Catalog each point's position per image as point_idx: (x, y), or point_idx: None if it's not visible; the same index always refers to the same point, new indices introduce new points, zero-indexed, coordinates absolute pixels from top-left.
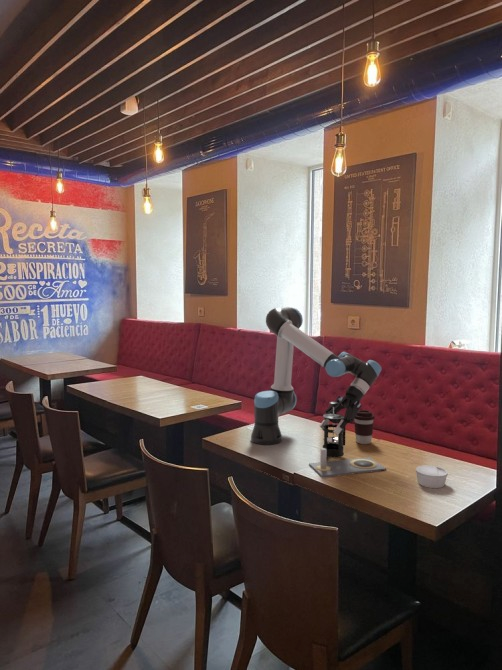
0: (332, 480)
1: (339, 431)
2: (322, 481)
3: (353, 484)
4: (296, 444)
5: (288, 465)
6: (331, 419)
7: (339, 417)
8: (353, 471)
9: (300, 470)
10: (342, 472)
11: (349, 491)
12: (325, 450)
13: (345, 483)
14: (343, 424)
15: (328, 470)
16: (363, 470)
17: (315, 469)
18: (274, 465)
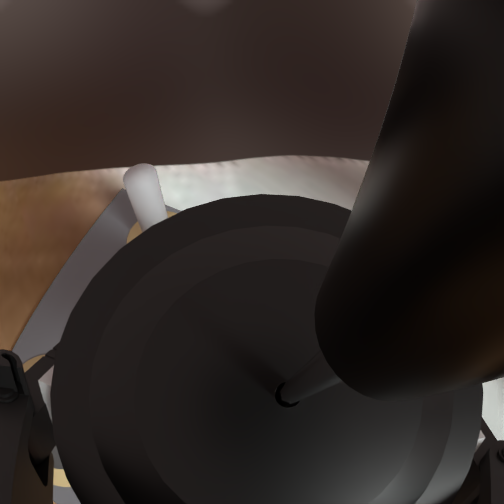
0: (84, 200)
1: None
2: (108, 174)
3: (20, 225)
4: (496, 391)
5: (303, 189)
6: (189, 238)
7: (101, 391)
8: (44, 303)
9: (230, 185)
10: (74, 262)
11: (20, 184)
12: (125, 176)
13: (41, 213)
14: (45, 359)
15: (128, 236)
16: (20, 342)
17: (179, 210)
18: (331, 162)
